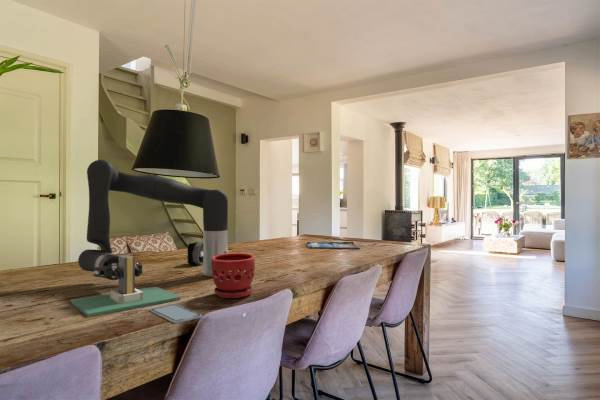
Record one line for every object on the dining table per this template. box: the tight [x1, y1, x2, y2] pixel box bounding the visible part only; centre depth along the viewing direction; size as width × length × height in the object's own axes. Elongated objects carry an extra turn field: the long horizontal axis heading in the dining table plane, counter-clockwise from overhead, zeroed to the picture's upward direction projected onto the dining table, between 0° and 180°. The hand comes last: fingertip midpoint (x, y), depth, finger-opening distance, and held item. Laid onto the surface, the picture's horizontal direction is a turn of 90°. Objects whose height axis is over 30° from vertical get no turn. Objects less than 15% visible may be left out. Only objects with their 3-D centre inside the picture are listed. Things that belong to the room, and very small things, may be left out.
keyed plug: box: [117, 254, 136, 294], centre depth 105 cm, size 3×5×12 cm, turn 43°
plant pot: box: [211, 252, 256, 299], centre depth 113 cm, size 13×13×12 cm
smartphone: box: [149, 303, 203, 324], centre depth 94 cm, size 7×1×15 cm
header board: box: [70, 286, 181, 318], centre depth 106 cm, size 24×18×3 cm
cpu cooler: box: [186, 241, 203, 266], centre depth 168 cm, size 10×6×10 cm, turn 168°
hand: (129, 273), depth 104 cm, fingers open, 4 cm apart
